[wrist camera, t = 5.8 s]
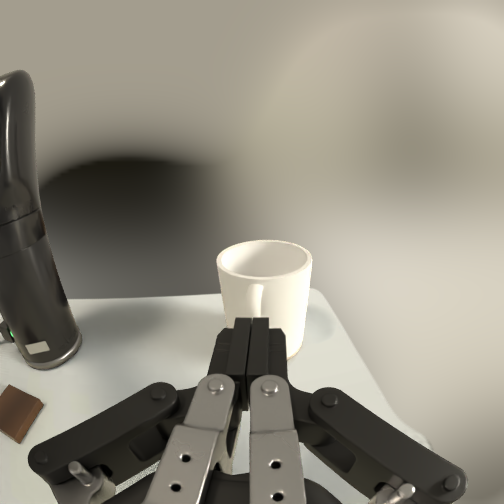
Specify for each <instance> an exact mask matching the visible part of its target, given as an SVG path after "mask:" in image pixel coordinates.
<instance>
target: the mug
mask: <svg viewBox="0 0 504 504" xmlns="http://www.w3.org/2000/svg"><path fill="white" fill-rule="evenodd" d="M311 267H312V257H311V254H310V253H309V252H308V251H307V250H306V249H305V248H303V247H301V246H299V245H297V244H293V243H290V242H284V241H276V240H257V241H249V242H244V243H239V244H236V245H234V246H231V247H229V248H227V249H225V250H223V251H222V252H221V253H220V254H219V255H218V258H217V268H218V274H219V281H220V286H221V293H222V299H223V305H224V311H225V317H226V323H227V328H234V323H235V318H236V317H252V321H253V317H269V328H281V329H282V331H283V332H284V334H285V335H286V352H287V360H289V359H290V358H291V357H293V356H294V355H295V354H296V353H297V352H298V351H299V349H300V348H301V344H302V340H303V333H304V325H305V318H306V310H307V302H308V294H309V285H310V276H311Z"/></svg>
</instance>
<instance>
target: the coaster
mask: <svg viewBox="0 0 504 504" xmlns="http://www.w3.org/2000/svg"><path fill="white" fill-rule="evenodd" d="M42 407H43V403H42V402H41V401H40V399H38V398H36V397H34V396H32V395H29V394H27V393H25V392H23V391H21V390H19V389H17V388H15V387H13V386H11V385H8V386H7V388H6V389H5V390H4V392H3V393H2V394H1V396H0V431H1V432H2V433H4V434H5V435H7V436H8V437H10V438H11V439H13V440H14V441H16V442H17V443H19V444H20V443H21V441H22V439H23V437H24V436H25V434H26V432H27V431H28V429H29V427H30V426H31V424H32V422H33V421H34V419H35V418H36V416H37V414H38V413H39V411H40V410H41V408H42Z"/></svg>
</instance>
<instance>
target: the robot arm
mask: <svg viewBox="0 0 504 504" xmlns="http://www.w3.org/2000/svg"><path fill="white" fill-rule="evenodd" d="M0 313H1V315H2V317H3V319H4V321H3V322H2V323H1V324H0V332H1V333H2V335H3V337H4V339H5V340H7V341H10V342H13V343H14V342H15V343H16V345H17V347H18V349H19V351H20V352H21V354H22V355H23V357H24V359H25V361H26V362H27V364H28V365H29V366H31V367H33V368H35V369H50V368H54V367H57V366H59V365H61V364H63V363H65V362H66V361H68V360H69V359H70V358H71V357H72V356H73V355H74V354H75V353H76V352H77V351H78V349H79V347H80V345H81V342H82V335H81V332H80V330H79V327H78V326H77V324H76V322H75V319H74V317H73V314H72V312H71V309H70V306H69V304H68V301H67V298H66V296H65V293H64V290H63V287H62V284H61V281H60V278H59V275H58V272H57V269H56V265H55V262H54V259H53V255H52V251H51V248H50V244H49V240H48V236H47V232H46V228H45V224H44V219H43V214H42V210H41V203H40V198H39V190H38V175H37V165H36V153H35V92H34V86H33V82H32V80H31V77H30V75H29V74H28V73H27V72H25V71H24V70H16V71H13V72H10V73H7V74H4V75H2V76H0ZM249 407H250V437H249V447H250V473H244V474H238V475H232V464H233V458H234V454H235V449H236V445H237V440H238V436H239V431H240V426H241V424H240V422H241V417H242V411H248V409H249ZM299 442H302V443H304V445H305V447H306V448H307V449H309V450H310V451H311V452H312V453H313V454H314V455H315V456H316V457H318V458H319V459H320V460H321V461H322V462H323V463H325V464H326V465H327V466H328V467H329V468H331V469H332V470H333V471H334V472H335V473H337V474H338V475H339V476H340V477H341V478H343V479H344V480H345V481H346V482H348V483H349V484H350V485H352V486H353V487H354V488H355V489H357V490H358V491H359V492H361V493H362V494H363V495H365V496H366V497H367V498H369V499H370V501H369V502H368V504H452V503H453V502H455V501H456V500H458V499H459V498H460V497H461V496H462V495H463V494H464V493H465V491H466V489H467V485H468V478H467V475H466V473H465V472H464V471H463V470H462V469H461V468H459V467H457V466H456V465H454V464H452V463H451V462H449V461H447V460H445V459H444V458H442V457H440V456H439V455H437V454H435V453H434V452H432V451H430V450H429V449H427V448H426V447H424V446H422V445H421V444H419V443H418V442H416V441H414V440H413V439H411V438H410V437H408V436H407V435H405V434H404V433H402V432H401V431H399V430H397V429H396V428H394V427H393V426H391V425H390V424H388V423H387V422H385V421H384V420H382V419H381V418H380V417H378V416H377V415H375V414H374V413H372V412H371V411H369V410H368V409H366V408H365V407H364V406H362V405H361V404H359V403H358V402H356V401H355V400H354V399H352V398H351V397H349V396H348V395H347V394H345V393H344V392H342V391H341V390H339V389H336V388H331V387H326V388H321V389H319V390H317V391H315V392H314V393H313V394H312V393H308V392H303V391H300V390H298V389H296V388H294V387H293V386H292V385H291V384H290V382H289V380H288V375H287V352H286V335H285V334H284V332H283V331H282V329H281V328H269V317H253V321H252V317H236V318H235V323H234V328H224V329H223V330H222V331H221V332H220V333H219V334H218V336H217V339H216V345H215V347H214V351H213V355H212V358H211V362H210V366H209V370H208V374H207V376H206V377H204V378H203V379H202V380H201V381H200V382H199V384H198V386H196V387H193V388H189V389H183V390H177V391H176V389H175V388H174V387H173V386H172V385H171V384H168V383H165V382H157V383H153V384H151V385H149V386H147V387H146V388H144V389H142V390H140V391H139V392H137V393H135V394H133V395H132V396H130V397H128V398H126V399H125V400H123V401H121V402H119V403H118V404H116V405H114V406H112V407H110V408H109V409H107V410H105V411H103V412H101V413H99V414H98V415H96V416H94V417H92V418H90V419H88V420H86V421H84V422H82V423H80V424H79V425H77V426H75V427H73V428H71V429H69V430H67V431H65V432H63V433H61V434H59V435H57V436H55V437H53V438H51V439H48V440H46V441H44V442H42V443H40V444H38V445H36V446H34V447H33V448H32V449H31V450H30V452H29V455H28V464H29V466H30V468H31V469H32V470H33V471H34V472H35V473H36V474H38V475H39V476H40V477H41V478H43V479H44V481H46V482H47V483H48V484H49V486H50V488H51V490H52V492H53V494H54V496H55V498H56V500H57V502H58V504H342V503H341V502H340V501H339V500H338V499H336V498H335V497H334V496H333V495H332V494H331V493H330V492H329V491H328V490H326V489H325V488H324V487H322V486H321V485H319V484H317V483H315V482H314V481H311V480H309V479H306V478H303V470H302V463H301V455H300V448H299ZM159 460H160V462H159V465H158V467H157V470H156V472H153V473H151V474H149V475H147V476H145V477H144V478H142V479H141V480H139V481H138V482H136V483H134V484H133V485H131V486H130V487H128V488H126V489H125V490H123V491H122V492H120V493H118V494H117V495H115V492H116V487H115V486H117V485H119V484H121V483H123V482H124V481H126V480H128V479H130V478H131V477H133V476H135V475H136V474H138V473H140V472H141V471H143V470H145V469H146V468H148V467H150V466H151V465H153V464H154V463H156V462H157V461H159Z"/></svg>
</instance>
